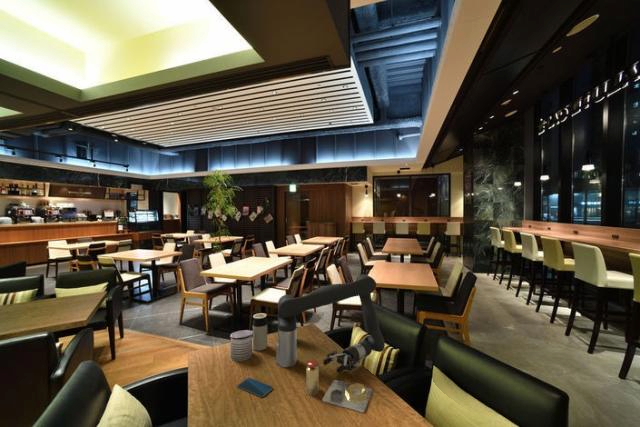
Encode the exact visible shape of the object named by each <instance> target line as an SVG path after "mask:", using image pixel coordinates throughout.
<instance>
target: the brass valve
mask: <svg viewBox="0 0 640 427" xmlns="http://www.w3.org/2000/svg"><path fill="white" fill-rule="evenodd" d="M319 368H320V367H319V361H318V360H316V359H308V360H307V361H306V368H305V369H306V376H305V377H306V379H305V380H306V383H305V384H306V385H305V387H306V388H305V389H306V390H305V391H306V394H307V395H308V396H309V397H314V396H318V394H319V391H320V386H319V385H320V380H319V379H320V378H319V377H320V376H319V375H320V374H319V373H320V372H319V371H320V369H319Z"/></svg>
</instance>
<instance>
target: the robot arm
mask: <svg viewBox="0 0 640 427" xmlns="http://www.w3.org/2000/svg"><path fill="white" fill-rule="evenodd" d="M376 289H377V282H376V280H375V279H374V278H373V277H371V276H369V275H367V274H364V273H363V274H359V275H357V276H356V278H355V280H354V281H351V282H348V283H347V282H346V283H333V284H328V285H323V286H320V287H318V288H316V289H314V290H313V291H311V292H310V293H307V294H306V295H303V296H297V297H294V296H293V295H291V294H290V295H286V294H284V295H282V296H281V297H280V298H278V302H277V338H278V339H277V343H276V364H278V366H280V367H283V368H291V367H294V366H295V365H296V364H297V360H298V359H297V356H298V354H297V351H298V350H297V348H298V345H297V343H298V342H297V337H298V335H297V332H298V330H297V327H298V326H297V325H298V324H297V315H299V314H302V313H304V312H306V311H309V310H312V309H313V310H314V309H317V308H320V307H324V306H329V305H332V304H334V303H338V302H340V301H345V300H348V299H350V298H354V297H359V300H360V301H359V302H360V305H361V310H362V314H363V323H364V328H365V331H366V333H368V334H369V335H366V336H365V337H364V338H363V339H362V341H359V342H358V343H355V344H353V345H351V346H348V347H347V348H344V349H343V350H342V352H340V353H338V351H337V350H335V351H332V352H329V353H327V355H326V356H327V357H326V358H324V359H323V365H324V366H326V365H328V364H330V363H334V364H340V365H339V366H337V367H336V373H337V374H339V373H343V372H344V371H345V372H346V371H347V372H349V373H350V372H352V371H353V370H354V369H356V368H357V367H358V363H359V362H360V361H362V360H363V359H365V358H367V357H368V356H370V355H371V353H372V351H374V352H377V353H381V352H383V351H384V349H385V348H386V347H385V346H386V345H385V344H386V343H385V339H384V336H383V334H382V332H381V329H380V326H379V320H378V315H377V311H376V308H375V305H374V303H373V300H372V293H373V292H375V290H376Z"/></svg>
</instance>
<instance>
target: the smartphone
mask: <svg viewBox="0 0 640 427" xmlns="http://www.w3.org/2000/svg"><path fill="white" fill-rule="evenodd" d="M236 388H237V389H239V390H241V391H243V392H246V393H248V394H251V395H253V396H255V397H258V398H261V399H264V398H265V397H266V396H268V395H269V394H270V393H271V392H272V391H273V390H274V387H273V386H272V385H269V384H267V383H264V382H262V381H258V380H256V379H254V378H251V377H247V378H246V379H244V380H242V381H241V382H240V383H238V384H237V385H236Z"/></svg>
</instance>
